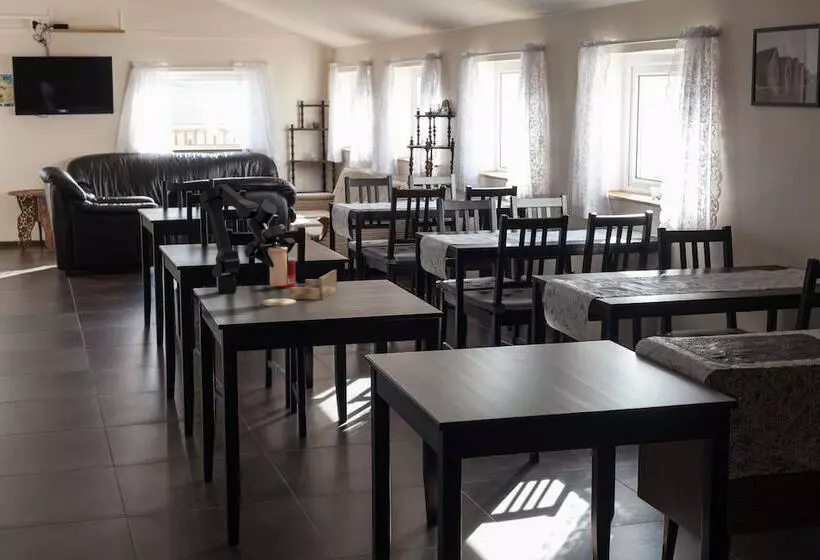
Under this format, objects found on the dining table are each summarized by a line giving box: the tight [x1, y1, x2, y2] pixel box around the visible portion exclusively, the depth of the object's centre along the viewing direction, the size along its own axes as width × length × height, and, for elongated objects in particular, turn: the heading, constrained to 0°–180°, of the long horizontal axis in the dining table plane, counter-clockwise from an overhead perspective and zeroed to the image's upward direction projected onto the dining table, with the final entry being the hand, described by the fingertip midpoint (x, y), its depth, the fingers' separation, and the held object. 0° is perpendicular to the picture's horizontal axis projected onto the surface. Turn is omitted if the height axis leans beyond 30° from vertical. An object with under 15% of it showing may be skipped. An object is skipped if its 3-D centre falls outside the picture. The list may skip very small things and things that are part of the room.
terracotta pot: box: [268, 246, 288, 287], centre depth 389 cm, size 7×7×13 cm
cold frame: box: [289, 269, 338, 300], centre depth 408 cm, size 12×21×8 cm, turn 170°
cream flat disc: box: [261, 298, 297, 307], centre depth 390 cm, size 12×12×1 cm
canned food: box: [275, 256, 296, 289], centre depth 428 cm, size 8×8×11 cm
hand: (280, 266), depth 388 cm, fingers closed on terracotta pot, 6 cm apart
